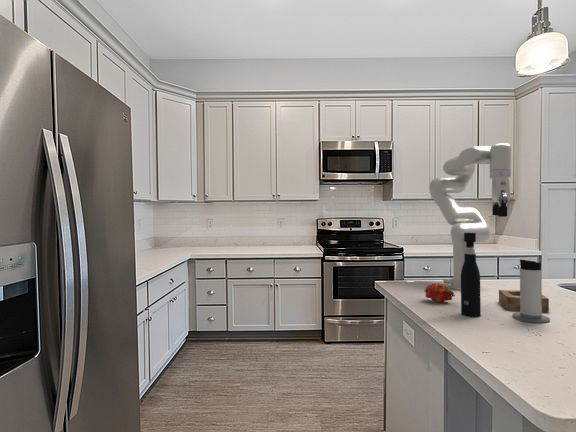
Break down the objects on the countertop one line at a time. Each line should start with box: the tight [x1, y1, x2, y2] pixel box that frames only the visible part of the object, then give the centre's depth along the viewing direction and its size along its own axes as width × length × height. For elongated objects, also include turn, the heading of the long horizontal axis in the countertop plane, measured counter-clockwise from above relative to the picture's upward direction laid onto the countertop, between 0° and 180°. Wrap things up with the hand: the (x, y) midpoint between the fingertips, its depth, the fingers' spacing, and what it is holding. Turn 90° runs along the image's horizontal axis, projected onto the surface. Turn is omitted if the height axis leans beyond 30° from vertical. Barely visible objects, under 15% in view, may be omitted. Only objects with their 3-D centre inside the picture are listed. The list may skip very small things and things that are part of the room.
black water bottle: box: [460, 233, 482, 318], centre depth 133 cm, size 6×6×30 cm
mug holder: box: [498, 289, 550, 313], centre depth 142 cm, size 13×13×5 cm
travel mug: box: [519, 258, 543, 319], centre depth 127 cm, size 6×7×20 cm
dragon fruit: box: [424, 282, 456, 304], centre depth 151 cm, size 8×8×12 cm
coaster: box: [511, 311, 551, 324], centre depth 127 cm, size 11×11×1 cm
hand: (499, 215), depth 151 cm, fingers open, 9 cm apart
